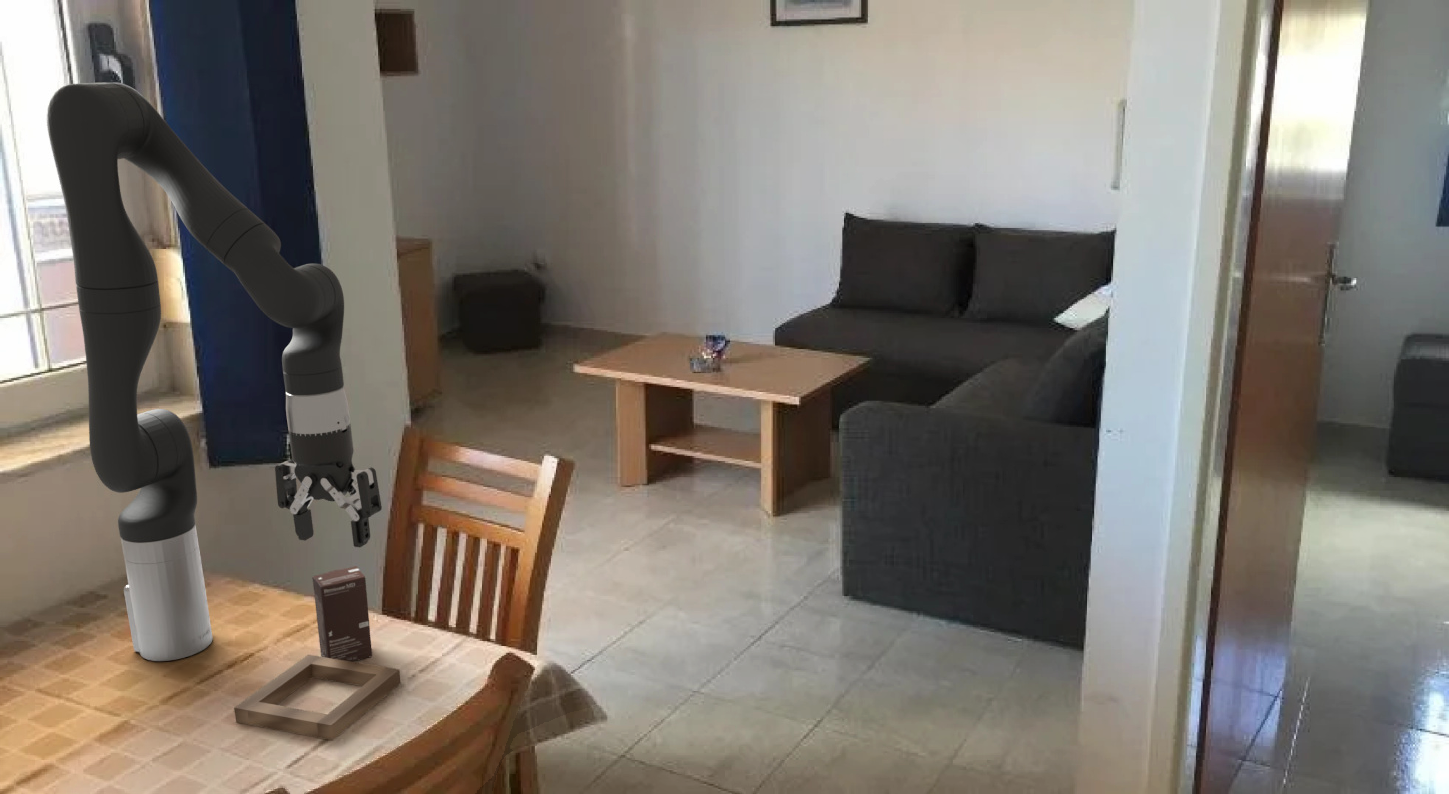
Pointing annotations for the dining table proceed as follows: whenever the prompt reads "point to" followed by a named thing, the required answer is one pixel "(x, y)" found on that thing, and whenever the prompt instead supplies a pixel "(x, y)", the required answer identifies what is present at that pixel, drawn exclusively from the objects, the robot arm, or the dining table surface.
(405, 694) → the dining table surface
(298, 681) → the socket
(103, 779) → the dining table surface
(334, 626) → the box
